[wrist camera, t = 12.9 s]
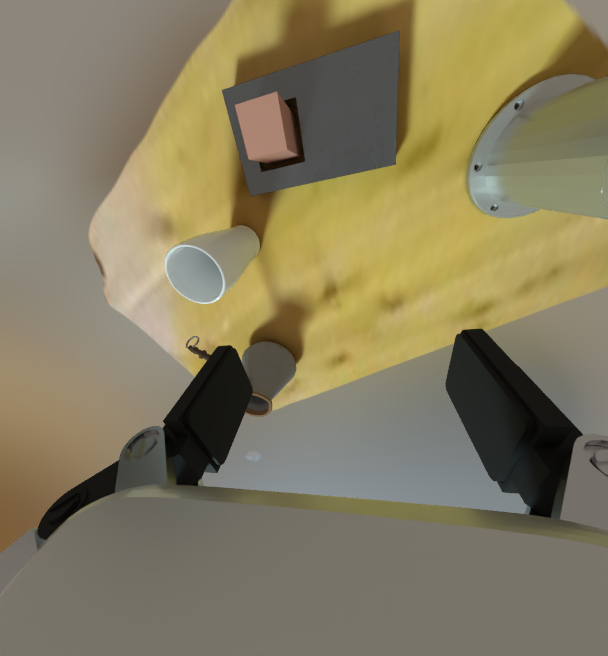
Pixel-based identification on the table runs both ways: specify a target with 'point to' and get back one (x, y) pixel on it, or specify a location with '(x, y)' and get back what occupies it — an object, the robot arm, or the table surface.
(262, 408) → the coffee pot
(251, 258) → the drinking glass
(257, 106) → the square peg
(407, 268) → the table surface
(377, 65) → the square hole plate
